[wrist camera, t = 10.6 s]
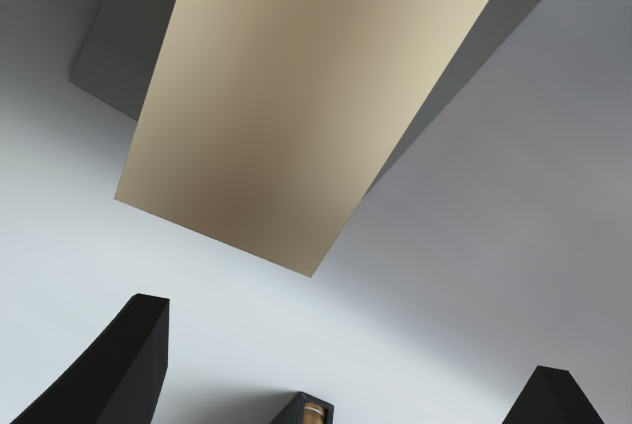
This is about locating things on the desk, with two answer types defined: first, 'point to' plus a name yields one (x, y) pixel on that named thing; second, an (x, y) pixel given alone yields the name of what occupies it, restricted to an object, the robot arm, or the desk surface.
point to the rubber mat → (152, 22)
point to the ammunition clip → (305, 411)
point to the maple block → (283, 114)
